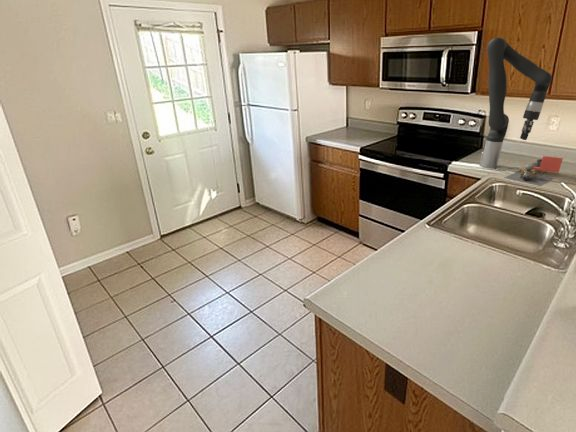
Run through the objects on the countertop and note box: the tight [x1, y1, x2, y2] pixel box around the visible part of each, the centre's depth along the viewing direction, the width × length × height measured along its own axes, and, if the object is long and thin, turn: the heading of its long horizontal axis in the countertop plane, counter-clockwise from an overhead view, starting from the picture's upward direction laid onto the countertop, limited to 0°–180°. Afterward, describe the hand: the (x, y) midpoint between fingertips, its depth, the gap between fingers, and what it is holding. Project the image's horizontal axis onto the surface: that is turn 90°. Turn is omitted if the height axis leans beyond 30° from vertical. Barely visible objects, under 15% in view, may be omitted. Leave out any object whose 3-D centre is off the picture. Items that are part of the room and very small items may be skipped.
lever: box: [524, 155, 564, 173], centre depth 204 cm, size 16×4×8 cm, turn 58°
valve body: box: [520, 167, 536, 181], centre depth 210 cm, size 6×16×5 cm, turn 149°
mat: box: [503, 170, 555, 187], centre depth 210 cm, size 19×21×1 cm
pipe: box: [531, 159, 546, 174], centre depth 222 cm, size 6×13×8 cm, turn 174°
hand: (523, 139), depth 212 cm, fingers open, 8 cm apart
